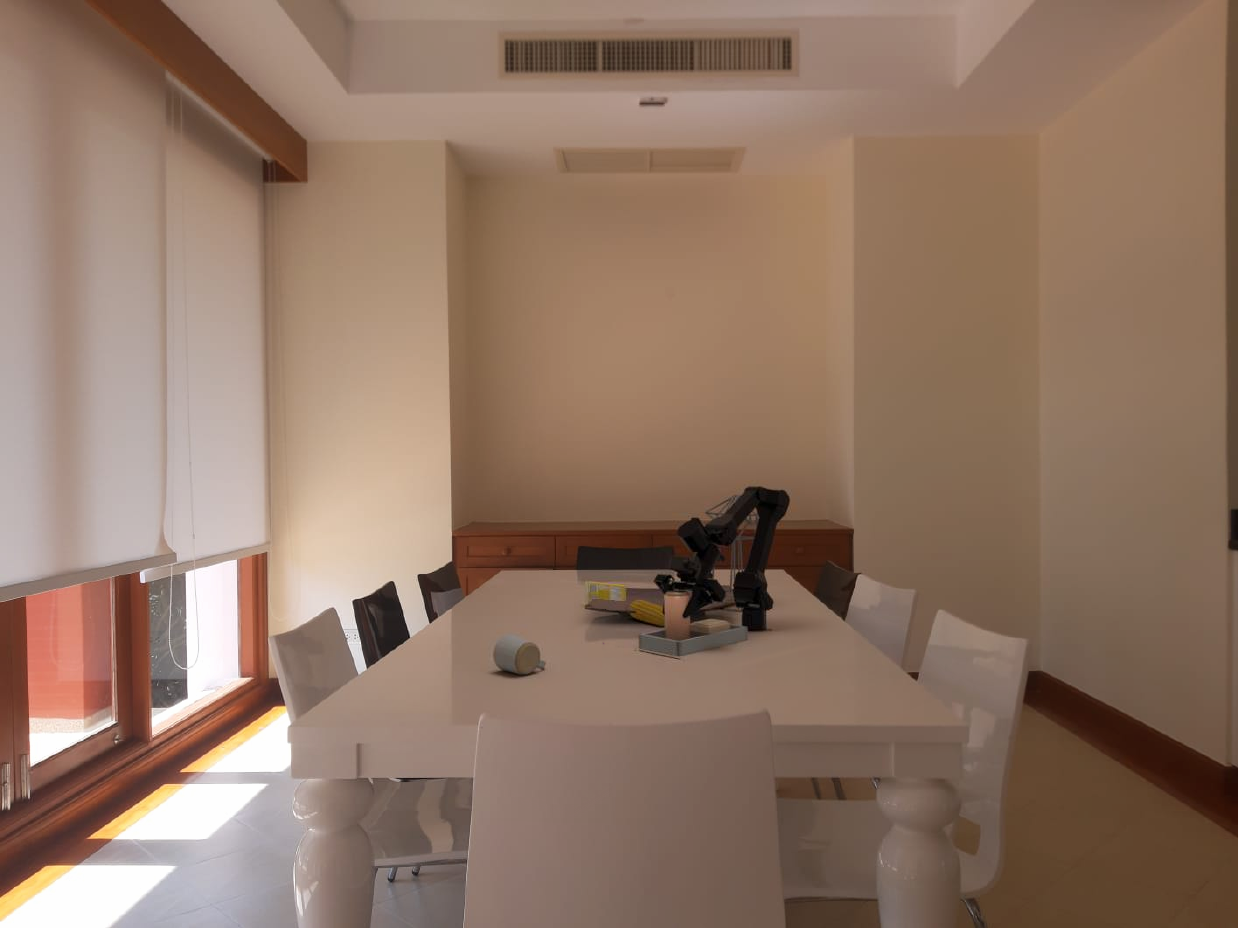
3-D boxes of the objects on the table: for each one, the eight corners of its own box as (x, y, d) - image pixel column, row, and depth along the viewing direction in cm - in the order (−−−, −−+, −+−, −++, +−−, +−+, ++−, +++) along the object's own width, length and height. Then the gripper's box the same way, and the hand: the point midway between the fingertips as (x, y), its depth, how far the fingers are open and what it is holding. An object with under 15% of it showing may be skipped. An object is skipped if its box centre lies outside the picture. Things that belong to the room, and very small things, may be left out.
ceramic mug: (516, 678, 180) (516, 641, 180) (492, 672, 186) (492, 636, 186) (554, 670, 188) (554, 635, 188) (530, 664, 194) (530, 630, 194)
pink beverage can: (686, 643, 209) (685, 589, 209) (693, 648, 203) (692, 593, 203) (662, 644, 207) (661, 590, 207) (669, 650, 202) (667, 594, 202)
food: (626, 619, 248) (626, 599, 248) (642, 617, 251) (642, 597, 251) (668, 631, 230) (668, 608, 230) (685, 628, 233) (685, 606, 233)
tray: (707, 635, 222) (707, 620, 222) (747, 642, 213) (747, 626, 213) (638, 651, 205) (638, 634, 205) (679, 659, 196) (678, 641, 196)
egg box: (711, 635, 218) (711, 618, 218) (730, 639, 214) (730, 621, 214) (690, 640, 213) (690, 622, 213) (709, 644, 208) (708, 625, 208)
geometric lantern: (701, 608, 265) (700, 494, 266) (734, 603, 276) (733, 494, 277) (741, 614, 253) (740, 495, 254) (774, 608, 264) (773, 494, 265)
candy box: (626, 612, 260) (626, 585, 260) (622, 613, 259) (621, 585, 259) (589, 606, 271) (588, 580, 271) (584, 607, 270) (584, 581, 270)
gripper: (657, 541, 214) (628, 591, 207) (717, 545, 201) (687, 598, 193) (679, 569, 220) (650, 618, 212) (738, 575, 207) (710, 628, 199)
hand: (673, 615), depth 204 cm, fingers closed on pink beverage can, 6 cm apart
